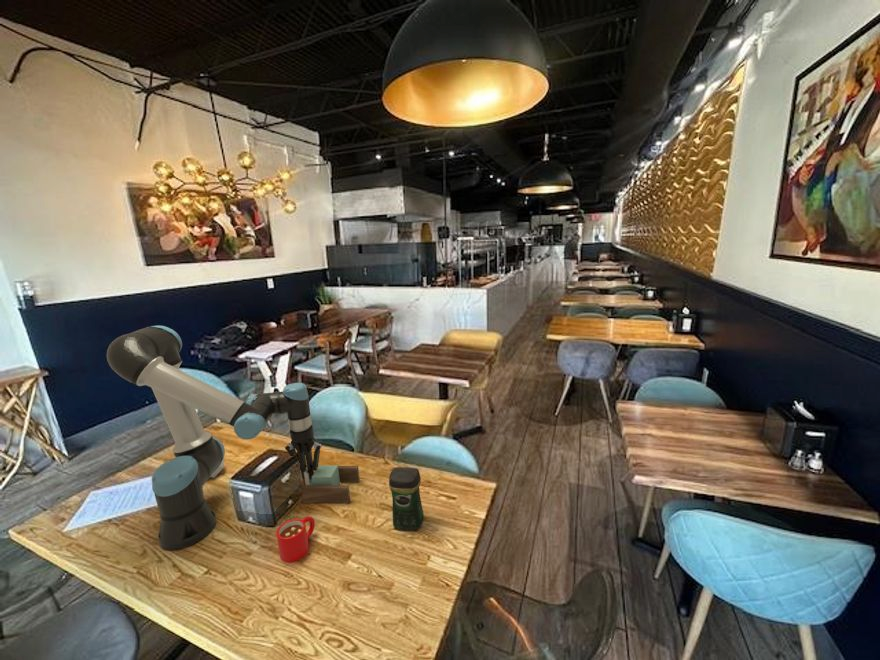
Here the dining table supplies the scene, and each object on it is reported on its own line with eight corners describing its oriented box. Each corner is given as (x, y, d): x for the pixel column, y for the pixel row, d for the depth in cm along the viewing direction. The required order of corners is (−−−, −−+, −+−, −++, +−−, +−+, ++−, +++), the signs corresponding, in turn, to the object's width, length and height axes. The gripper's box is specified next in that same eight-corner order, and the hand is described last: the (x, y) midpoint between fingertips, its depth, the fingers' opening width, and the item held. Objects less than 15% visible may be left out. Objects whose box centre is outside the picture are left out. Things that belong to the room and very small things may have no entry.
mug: (324, 535, 113) (321, 513, 111) (294, 566, 103) (290, 542, 101) (305, 528, 116) (302, 506, 115) (274, 557, 106) (269, 534, 104)
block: (333, 497, 130) (331, 477, 128) (314, 496, 131) (311, 477, 129) (340, 484, 137) (337, 465, 135) (321, 484, 137) (319, 465, 136)
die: (231, 472, 150) (225, 448, 153) (216, 474, 141) (210, 449, 144) (212, 481, 149) (206, 457, 152) (195, 483, 141) (190, 458, 144)
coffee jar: (425, 514, 120) (422, 463, 115) (420, 533, 112) (416, 479, 108) (397, 512, 121) (392, 462, 117) (389, 530, 114) (384, 477, 110)
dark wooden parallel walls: (348, 503, 127) (347, 488, 125) (300, 503, 128) (298, 488, 127) (359, 479, 139) (358, 465, 138) (315, 479, 141) (313, 465, 139)
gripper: (323, 421, 132) (330, 479, 137) (288, 422, 133) (297, 479, 138) (314, 432, 124) (323, 493, 130) (277, 432, 125) (287, 492, 131)
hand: (309, 486), depth 134 cm, fingers closed
